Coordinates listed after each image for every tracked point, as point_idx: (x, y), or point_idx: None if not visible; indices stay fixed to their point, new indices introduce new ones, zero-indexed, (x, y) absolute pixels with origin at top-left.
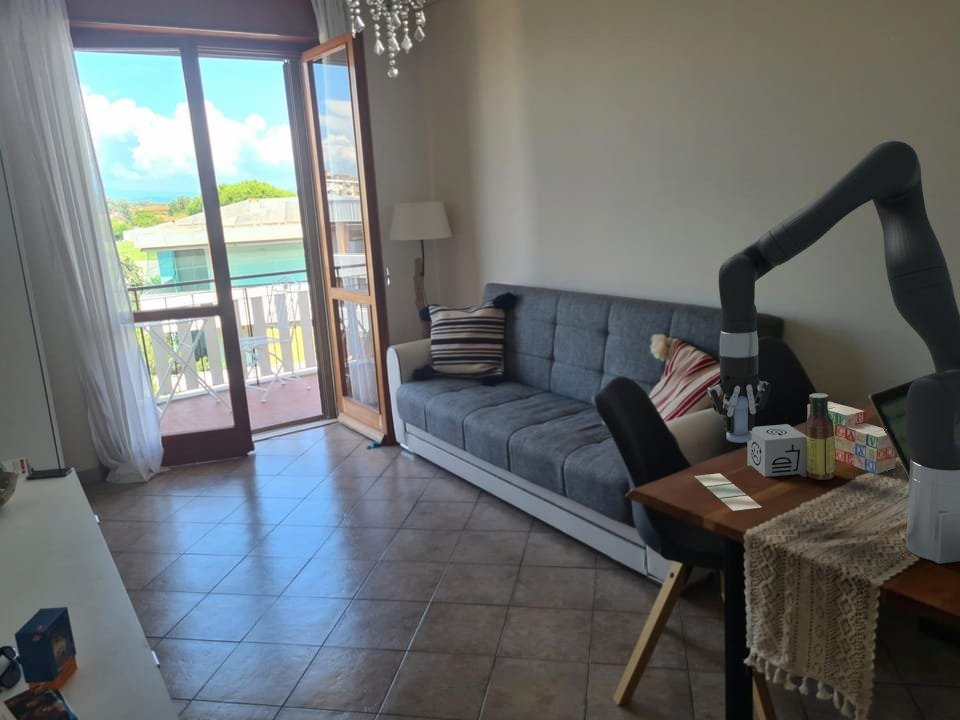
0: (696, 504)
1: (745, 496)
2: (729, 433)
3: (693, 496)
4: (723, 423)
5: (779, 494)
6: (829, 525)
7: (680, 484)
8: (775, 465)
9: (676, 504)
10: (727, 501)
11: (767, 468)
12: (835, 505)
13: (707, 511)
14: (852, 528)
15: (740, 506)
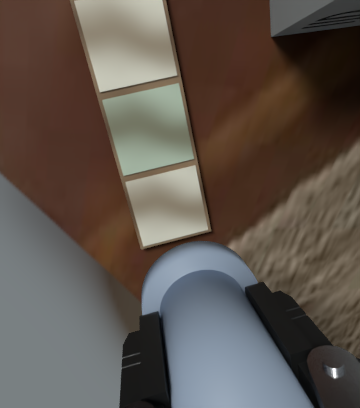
0: (67, 185)
1: (188, 170)
2: (156, 309)
3: (64, 135)
4: (122, 363)
5: (272, 136)
6: (300, 282)
7: (30, 38)
8: (323, 21)
9: (16, 184)
10: (140, 197)
11: (295, 26)
12: (352, 200)
13: (90, 224)
14: (329, 292)
15: (163, 226)
